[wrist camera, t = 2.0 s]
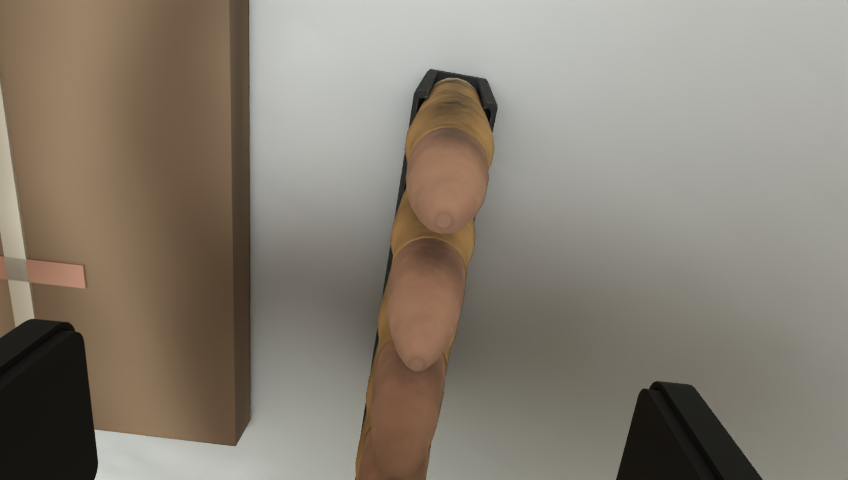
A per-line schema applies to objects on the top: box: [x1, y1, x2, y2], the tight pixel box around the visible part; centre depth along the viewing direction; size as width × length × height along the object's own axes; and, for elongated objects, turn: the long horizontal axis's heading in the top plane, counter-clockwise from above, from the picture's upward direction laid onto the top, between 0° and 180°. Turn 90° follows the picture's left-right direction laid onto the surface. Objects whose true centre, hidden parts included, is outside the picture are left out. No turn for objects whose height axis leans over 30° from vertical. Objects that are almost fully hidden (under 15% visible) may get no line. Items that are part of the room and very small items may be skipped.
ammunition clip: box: [355, 69, 497, 480], centre depth 13 cm, size 11×2×12 cm, turn 171°
